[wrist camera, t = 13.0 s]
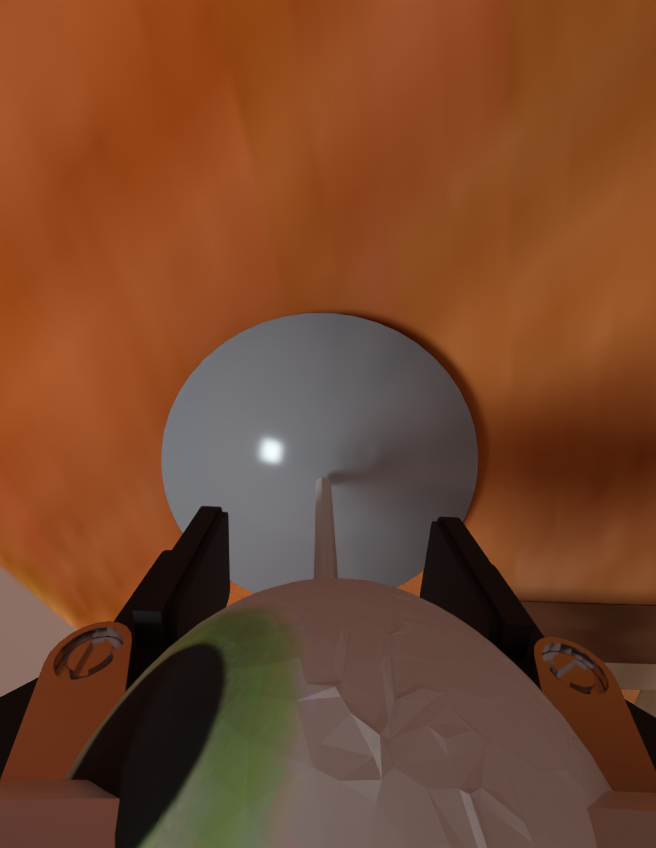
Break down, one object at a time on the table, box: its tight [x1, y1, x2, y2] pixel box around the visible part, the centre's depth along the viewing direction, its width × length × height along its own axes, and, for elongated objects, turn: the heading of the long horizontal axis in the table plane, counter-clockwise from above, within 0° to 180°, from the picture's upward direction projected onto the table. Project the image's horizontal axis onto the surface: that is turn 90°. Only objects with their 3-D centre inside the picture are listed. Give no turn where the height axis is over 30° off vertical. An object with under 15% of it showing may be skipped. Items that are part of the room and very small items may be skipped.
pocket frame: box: [520, 601, 656, 717], centre depth 19 cm, size 14×14×4 cm
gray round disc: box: [162, 313, 478, 593], centre depth 16 cm, size 14×14×1 cm
